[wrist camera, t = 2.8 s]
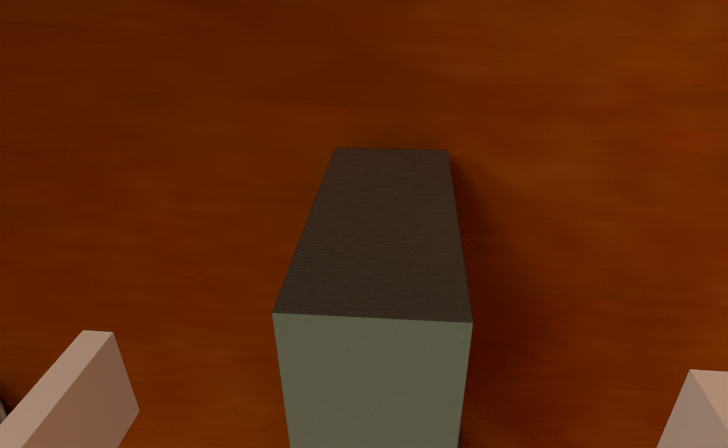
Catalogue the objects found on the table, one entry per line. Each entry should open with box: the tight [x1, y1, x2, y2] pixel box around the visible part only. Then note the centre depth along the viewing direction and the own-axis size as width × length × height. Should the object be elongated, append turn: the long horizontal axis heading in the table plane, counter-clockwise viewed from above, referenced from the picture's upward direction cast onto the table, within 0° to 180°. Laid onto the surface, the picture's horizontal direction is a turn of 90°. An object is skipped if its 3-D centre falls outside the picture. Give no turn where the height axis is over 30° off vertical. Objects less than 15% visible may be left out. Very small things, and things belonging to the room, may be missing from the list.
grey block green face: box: [272, 148, 473, 448], centre depth 19 cm, size 20×4×9 cm, turn 1°
